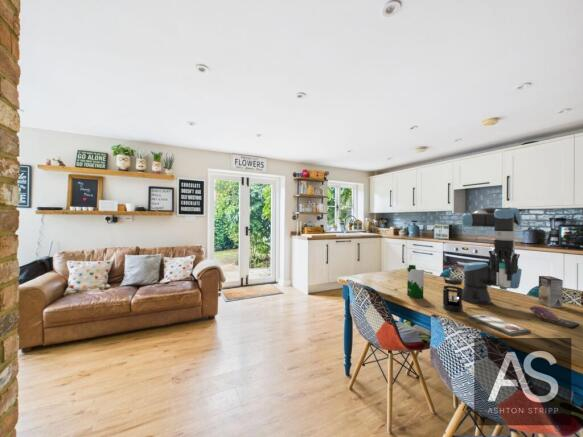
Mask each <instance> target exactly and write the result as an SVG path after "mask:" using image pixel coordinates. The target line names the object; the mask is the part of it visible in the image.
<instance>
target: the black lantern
mask: <svg viewBox="0 0 583 437" xmlns="http://www.w3.org/2000/svg"><path fill="white" fill-rule="evenodd" d="M448 269H449V270H451V272H452V273H455V271H457V270H458V268H456V267H448ZM443 280H444V283H445V284H448V285H444V286H443V288H442V289H443V290H442V305H443V306H442V309H443V310H445V311H447V312H450V313H459V314H460V313H463V312H464V310H463V309H464V308H463V306H464V305H463V304H462V303H463V299H462V292H463V288H462V287H460V286H461V285H462V284H463V282H464V280H463V279H462V278H458V277H453V276H451V277H450V276H449V277H447V276H446V277H443ZM458 286H459V287H458ZM450 293H456V295H455V296H454V295H450Z"/></svg>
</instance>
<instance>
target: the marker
mask: <svg viewBox="0 0 583 437" xmlns="http://www.w3.org/2000/svg"><path fill="white" fill-rule="evenodd" d="M505 273H506V268H505V263H499V286H500V287H499V289H500V290H506V291H507V290H508V288H507V287H504V281H505Z"/></svg>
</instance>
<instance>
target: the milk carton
mask: <svg viewBox="0 0 583 437" xmlns="http://www.w3.org/2000/svg"><path fill="white" fill-rule="evenodd" d="M406 272H407V279H406V280H407V282H406V284H407V295H408V296H409V297H411V298H414V299H419V298H420V299H424V277H425V276H424V275H425V274H424V273H425V269H423V268H421V267H416V264H409V265H408V267H406Z"/></svg>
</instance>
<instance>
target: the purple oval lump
mask: <svg viewBox="0 0 583 437" xmlns="http://www.w3.org/2000/svg"><path fill="white" fill-rule="evenodd" d="M529 310H530V311H531V312H532V313H533V314H535V315H536V317H538V318H543V319H544V320H546V321H547V320H549V319H550V320H552V321H553V322H556V321H557V322H559V318H558V316H556V315H555V314H554V312H552V311H551V310H549V309H547V308H545V307H543V306H538V305H533V306H531V307H530V308H529Z"/></svg>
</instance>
